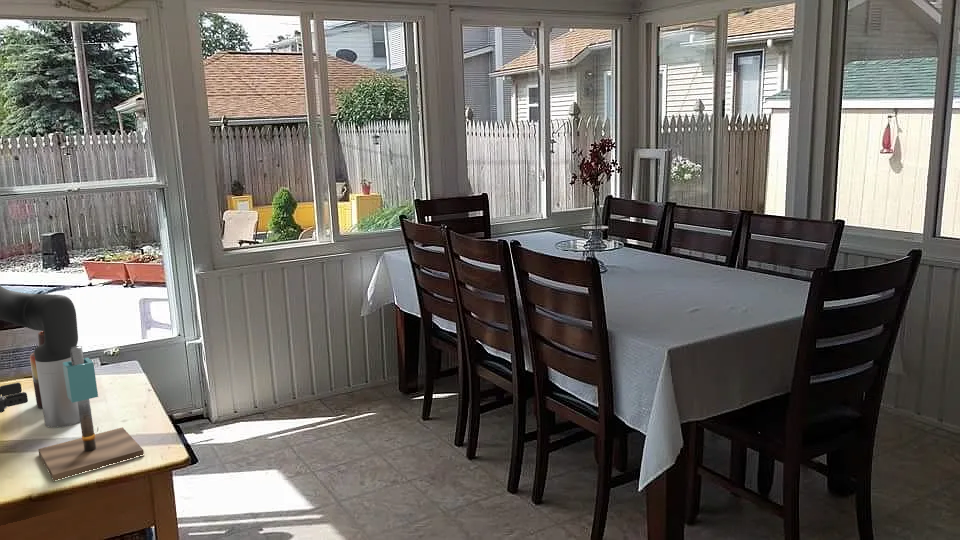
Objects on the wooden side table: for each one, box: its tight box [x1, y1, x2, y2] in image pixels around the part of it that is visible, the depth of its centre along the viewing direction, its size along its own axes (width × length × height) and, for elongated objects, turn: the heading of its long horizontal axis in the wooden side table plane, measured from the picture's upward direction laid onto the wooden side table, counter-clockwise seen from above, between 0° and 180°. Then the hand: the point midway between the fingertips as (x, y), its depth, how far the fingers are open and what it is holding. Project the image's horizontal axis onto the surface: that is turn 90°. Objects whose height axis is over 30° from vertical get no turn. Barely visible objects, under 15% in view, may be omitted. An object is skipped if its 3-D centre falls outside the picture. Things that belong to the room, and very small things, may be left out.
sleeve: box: [63, 357, 99, 403], centre depth 164 cm, size 5×5×8 cm
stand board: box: [38, 427, 145, 482], centre depth 167 cm, size 18×18×2 cm
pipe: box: [70, 345, 96, 452], centre depth 165 cm, size 3×3×24 cm
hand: (24, 391), depth 157 cm, fingers open, 8 cm apart
